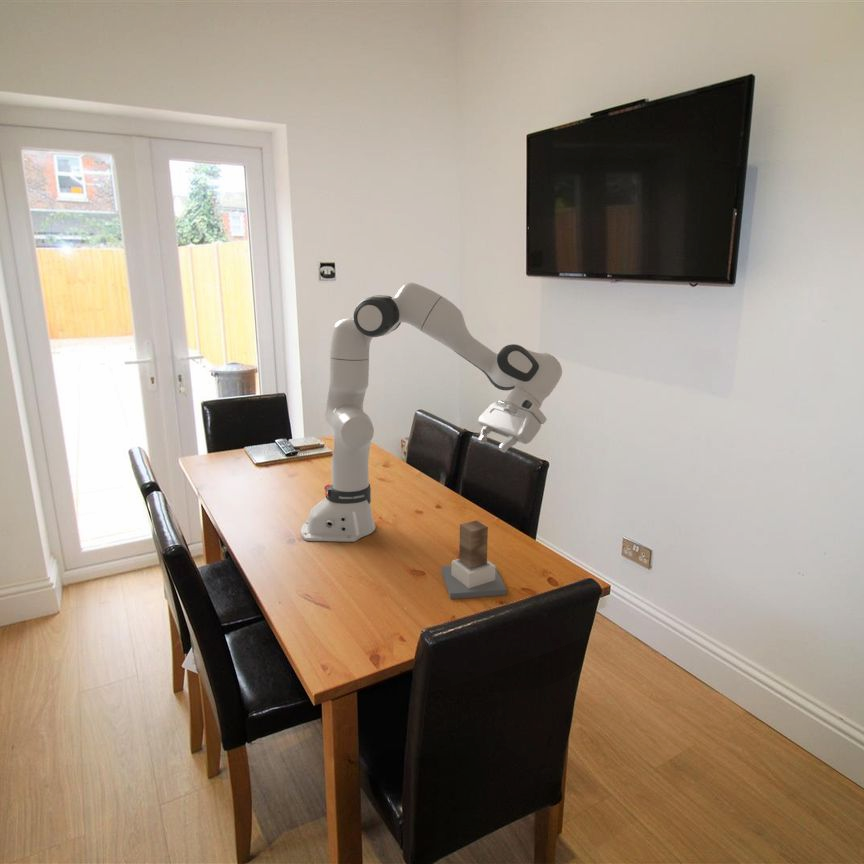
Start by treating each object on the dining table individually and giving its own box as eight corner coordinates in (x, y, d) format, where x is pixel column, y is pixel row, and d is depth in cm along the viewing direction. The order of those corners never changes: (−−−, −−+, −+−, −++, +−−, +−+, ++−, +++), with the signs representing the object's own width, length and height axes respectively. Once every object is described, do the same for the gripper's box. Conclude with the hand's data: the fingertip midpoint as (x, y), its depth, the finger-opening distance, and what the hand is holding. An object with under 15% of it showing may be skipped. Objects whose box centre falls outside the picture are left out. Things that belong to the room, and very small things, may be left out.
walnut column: (470, 568, 152) (471, 531, 149) (459, 560, 156) (459, 524, 154) (486, 564, 155) (487, 527, 152) (475, 556, 159) (476, 520, 156)
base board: (450, 599, 149) (450, 577, 148) (441, 571, 163) (441, 551, 161) (506, 594, 151) (507, 573, 150) (493, 568, 164) (493, 548, 163)
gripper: (491, 392, 174) (462, 430, 172) (538, 406, 157) (506, 449, 155) (503, 406, 177) (474, 443, 175) (551, 421, 160) (520, 463, 158)
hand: (490, 446), depth 165 cm, fingers open, 8 cm apart
